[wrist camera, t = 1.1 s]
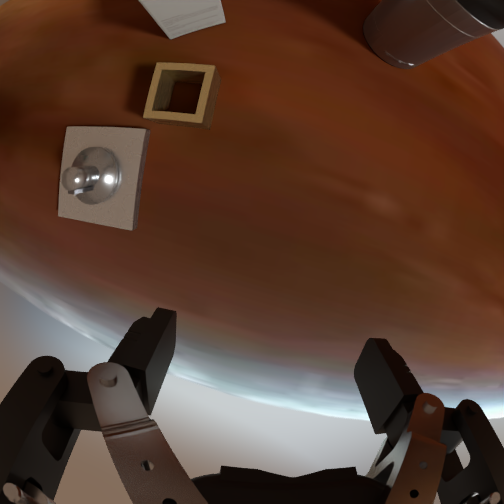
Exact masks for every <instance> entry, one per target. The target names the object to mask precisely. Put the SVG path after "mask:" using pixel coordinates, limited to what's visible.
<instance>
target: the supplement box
mask: <svg viewBox="0 0 504 504" xmlns="http://www.w3.org/2000/svg"><path fill="white" fill-rule="evenodd" d="M138 1H139V2H140V3H141V4H142V5H143V7H144V8H145V9H146V10H147V11H148V13H149V14H150V15H151V17H152V18H153V19H154V20H155V21H156V23H157V24H158V25H159V26H160V28H161V29H162V30H163V31H164V32H165V34H166V35H167V36H168V37H169V38H170V39H173V38H176V37H178V36H181V35H184V34H187V33H190V32H193V31H197V30H200V29H203V28H207V27H210V26H214V25H217V24H221V23H225V17H224V13H223V9H222V5H221V0H138Z"/></svg>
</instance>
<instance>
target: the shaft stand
mask: <svg viewBox="0 0 504 504" xmlns="http://www.w3.org/2000/svg"><path fill="white" fill-rule="evenodd" d="M150 131H151V130H147V129H138V128H121V127H87V126H74V127H67V130H66V136H65V142H64V149H63V157H62V165H61V175H60V188H59V207H58V216H60V217H65V218H70V219H76V220H81V221H86V222H91V223H96V224H101V225H106V226H111V227H116V228H121V229H126V230H134V229H136V228H137V222H138V211H139V202H140V194H141V186H142V178H143V172H144V165H145V159H146V153H147V147H148V141H149V136H150Z"/></svg>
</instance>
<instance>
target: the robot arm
mask: <svg viewBox="0 0 504 504" xmlns="http://www.w3.org/2000/svg"><path fill="white" fill-rule="evenodd" d="M503 28H504V0H382V1H381V2H380V3H379V4H378V5H377V6H376V8H375V9H374V10H373V11H372V12H371V13H370V15H369V16H368V17H367V18H366V19H365V21H364V25H363V31H364V36H365V38H366V41H367V42H368V44H369V46H370V47H371V49H372V50H373V51H374V52H375V53H376V54H377V55H378V56H379V57H380V58H381V59H383V60H384V61H385V62H387V63H389V64H391V65H392V66H395V67H398V68H403V69H411V68H414V67H416V66H418V65H420V64H422V63H424V62H426V61H428V60H431V59H433V58H435V57H437V56H439V55H441V54H443V53H445V52H447V51H449V50H452V49H454V48H456V47H458V46H460V45H463V44H465V43H467V42H470V41H472V40H474V39H477V38H479V37H482V36H484V35H486V34H489V33H492V32H494V31H497V30H499V29H503ZM176 317H177V315H176V311H173V310H168V309H163V308H159V307H158V308H157V309H156V310H155V312H154V314H153V315H152V317H151V318H147V317H142V318H140V319H138V320H137V321H135V322H134V323H133V324H132V326H131V327H130V328H129V330H128V332H127V333H126V334H125V336H124V339H122V340H121V342H120V343H119V345H118V346H117V348H116V350H115V351H114V353H113V354H112V356H111V357H110V359H109V360H108V362H104V363H99V364H97V365H95V366H94V367H92V368H91V369H90V370H89V372H78V371H77V372H76V371H68V370H65V368H64V365H63V363H62V362H61V361H60V360H59V359H57V358H55V357H52V356H41V357H38V358H36V359H34V360H33V361H32V362H31V363H30V364H29V365H28V366H27V368H26V369H25V370H24V372H23V373H22V374H21V376H20V377H19V378H18V380H17V381H16V383H15V384H14V385H13V387H12V388H11V389H10V391H9V392H8V394H7V395H6V397H5V398H4V399H3V401H2V402H1V404H0V504H56V503H55V502H54V501H53V500H54V497H55V495H56V492H57V489H58V486H59V483H60V480H61V478H62V475H63V473H64V470H65V467H66V465H67V462H68V459H69V457H70V455H71V452H72V450H73V447H74V445H75V443H76V440H77V438H78V436H79V433H80V431H81V430H91V431H101V432H102V434H103V437H104V439H105V442H106V445H107V448H108V450H109V453H110V455H111V458H112V460H113V463H114V465H115V467H116V469H117V471H118V474H119V476H120V478H121V481H122V483H123V485H124V487H125V489H126V491H127V493H128V495H129V497H130V499H131V501H132V503H133V504H433V503H434V500H435V497H436V493H437V492H438V496H439V499H440V502H441V504H504V448H503V446H502V444H501V442H500V440H499V438H498V437H497V435H496V433H495V431H494V430H493V428H492V426H491V424H490V422H489V421H488V419H487V417H486V416H485V414H484V412H483V410H482V409H481V407H480V406H479V405H478V404H477V403H476V402H474V401H472V400H469V399H465V400H462V401H461V402H460V403H459V405H458V406H457V407H456V408H448V407H444V404H443V403H442V401H441V400H440V399H439V398H438V397H436V396H435V395H432V394H429V393H424V392H423V391H422V389H421V387H420V386H419V384H418V382H417V381H416V379H415V377H414V376H413V374H412V373H411V371H410V369H409V367H407V364H406V363H405V361H404V359H403V358H402V357H401V356H400V355H399V354H398V353H397V352H396V351H395V350H393V349H392V347H391V346H390V344H389V342H388V341H387V340H386V339H381V338H369V339H368V340H367V342H366V344H365V346H364V348H363V350H362V352H361V355H360V357H359V359H358V361H357V363H356V365H355V369H354V378H355V381H356V383H357V386H358V389H359V391H360V394H361V397H362V399H363V402H364V405H365V407H366V410H367V413H368V416H369V418H370V421H371V424H372V427H373V429H374V432H375V434H381V433H386V434H387V437H386V438H385V439H384V441H383V443H382V445H381V447H380V449H379V452H378V454H377V456H376V458H375V460H374V462H373V464H372V466H371V468H370V470H369V472H368V473H367V475H366V476H361V475H357V471H356V467H349V468H337V469H325V470H322V471H318V472H315V473H311V474H307V475H304V476H299V477H286V476H282V475H278V474H274V473H269V472H266V471H262V470H258V469H248V468H237V467H229V466H221V469H220V473H218V474H209V475H203V476H199V477H196V478H193V479H190V478H189V476H188V475H187V473H186V472H185V470H184V469H183V467H182V466H181V464H180V462H179V461H178V459H177V458H176V456H175V454H174V453H173V451H172V449H171V448H170V446H169V444H168V443H167V441H166V439H165V438H164V436H163V434H162V432H161V430H160V429H159V427H158V425H157V423H156V422H155V421H154V420H151V419H150V418H149V417H148V415H151V413H152V410H153V408H154V405H155V402H156V399H157V397H158V394H159V391H160V389H161V386H162V383H163V381H164V378H165V376H166V373H167V370H168V368H169V365H170V363H171V360H172V357H173V354H174V350H175V343H176ZM462 441H464V443H465V445H466V447H467V450H468V452H469V454H470V462H469V465H468V466H467V467H466V468H465V469H463V467H462V464H461V462H460V459H459V457H458V455H457V453H456V450H455V448H456V447H457V446H458V445H459V444H460V443H461V442H462Z"/></svg>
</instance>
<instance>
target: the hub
mask: <svg viewBox="0 0 504 504" xmlns="http://www.w3.org/2000/svg"><path fill="white" fill-rule="evenodd" d="M175 82H183V83H196V84H202V88H201V92H200V97H199V101H198V105H197V110H196V114H187V113H177V112H168V109H169V105H170V100H171V96H172V92H173V88H174V84H175ZM220 83H221V78H220V76H219V73H218V71H217V69H216V66H212V65H201V64H186V63H157V64H156V67H155V71H154V74H153V78H152V82H151V86H150V90H149V94H148V98H147V102H146V106H145V111H144V115H143V118H145V119H148V120H151V121H153V122H156V123H158V124H167V125H177V126H186V127H194V128H202V129H209V130H210V127H211V122H212V118H213V113H214V109H215V104H216V100H217V95H218V91H219V87H220Z"/></svg>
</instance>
